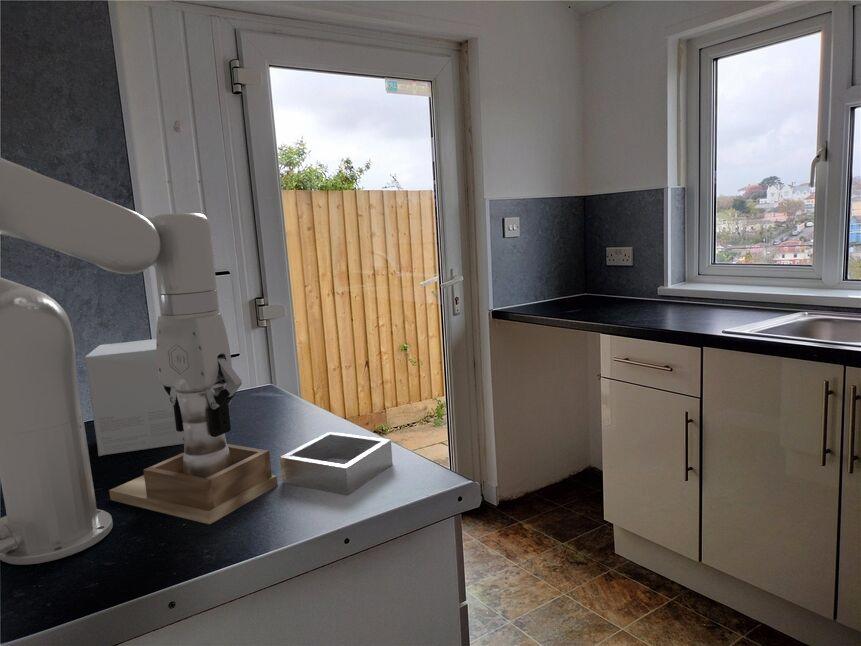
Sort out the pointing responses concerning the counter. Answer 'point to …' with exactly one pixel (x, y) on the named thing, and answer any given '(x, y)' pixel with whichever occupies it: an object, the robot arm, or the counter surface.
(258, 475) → the wooden tray
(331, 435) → the holder
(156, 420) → the supplement box
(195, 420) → the plastic bottle
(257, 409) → the counter surface
